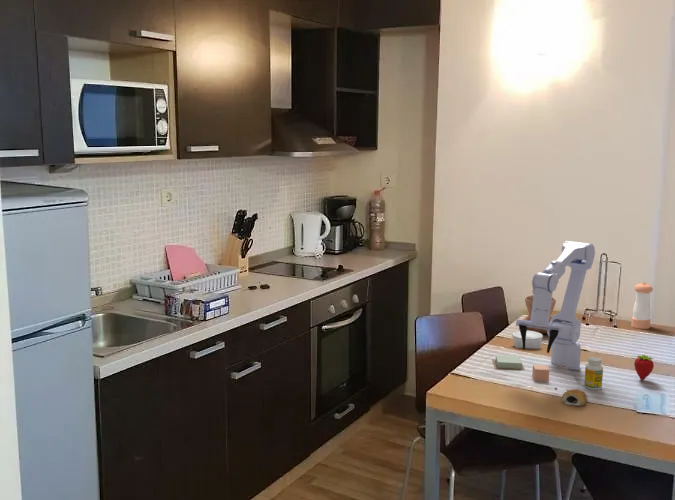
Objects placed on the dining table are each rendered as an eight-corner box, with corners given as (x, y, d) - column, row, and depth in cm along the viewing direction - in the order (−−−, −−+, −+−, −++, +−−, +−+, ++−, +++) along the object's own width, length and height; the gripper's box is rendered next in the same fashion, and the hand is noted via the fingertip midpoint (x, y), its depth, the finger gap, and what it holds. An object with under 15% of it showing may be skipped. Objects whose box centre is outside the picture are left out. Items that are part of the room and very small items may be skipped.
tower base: (520, 366, 246) (520, 360, 245) (524, 375, 236) (524, 370, 235) (491, 364, 247) (491, 359, 246) (494, 374, 237) (494, 368, 237)
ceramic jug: (526, 323, 297) (528, 291, 294) (561, 328, 289) (563, 295, 287) (515, 335, 281) (516, 301, 279) (551, 340, 274) (553, 305, 271)
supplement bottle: (591, 383, 227) (593, 355, 226) (605, 388, 223) (607, 359, 221) (580, 386, 224) (582, 357, 223) (594, 391, 220) (596, 362, 218)
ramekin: (509, 350, 261) (510, 336, 260) (513, 341, 272) (514, 328, 271) (540, 353, 257) (541, 340, 256) (543, 345, 267) (544, 332, 267)
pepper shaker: (629, 323, 298) (632, 280, 294) (646, 324, 297) (650, 280, 293) (633, 328, 290) (637, 283, 287) (652, 329, 290) (655, 284, 286)
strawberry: (651, 377, 233) (653, 348, 231) (653, 385, 226) (656, 355, 224) (632, 375, 235) (634, 346, 233) (633, 382, 228) (636, 353, 226)
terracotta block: (546, 379, 230) (546, 365, 229) (548, 384, 226) (549, 369, 225) (532, 379, 231) (532, 364, 230) (534, 383, 226) (535, 369, 226)
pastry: (568, 394, 218) (569, 382, 217) (591, 399, 214) (591, 387, 214) (560, 403, 210) (561, 391, 210) (583, 409, 207) (583, 396, 206)
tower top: (518, 361, 244) (519, 355, 244) (521, 368, 237) (521, 363, 236) (495, 360, 245) (495, 354, 245) (497, 367, 238) (497, 362, 237)
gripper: (518, 307, 225) (513, 349, 225) (565, 314, 221) (559, 356, 222) (518, 305, 232) (513, 345, 232) (563, 311, 228) (558, 352, 229)
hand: (535, 350), depth 228 cm, fingers open, 7 cm apart
